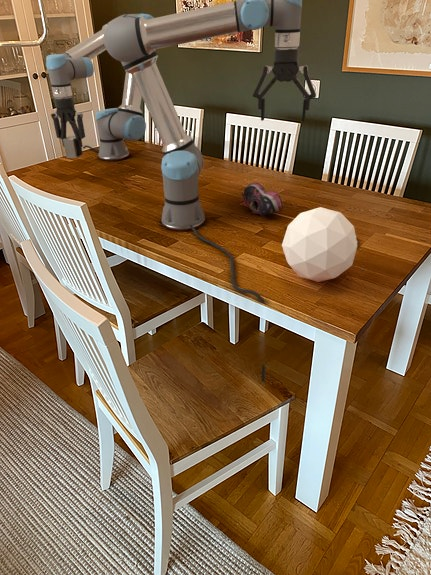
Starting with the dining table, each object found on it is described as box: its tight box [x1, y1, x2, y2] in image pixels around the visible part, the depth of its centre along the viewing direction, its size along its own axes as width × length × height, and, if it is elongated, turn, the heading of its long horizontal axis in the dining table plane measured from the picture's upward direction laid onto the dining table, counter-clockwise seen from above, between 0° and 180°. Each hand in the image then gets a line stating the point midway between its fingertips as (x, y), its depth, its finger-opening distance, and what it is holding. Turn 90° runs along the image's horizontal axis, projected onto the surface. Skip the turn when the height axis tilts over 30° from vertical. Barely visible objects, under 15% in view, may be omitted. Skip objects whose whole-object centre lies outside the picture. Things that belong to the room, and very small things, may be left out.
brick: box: [62, 135, 84, 159], centre depth 191 cm, size 6×5×8 cm
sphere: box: [281, 206, 358, 283], centre depth 118 cm, size 19×20×20 cm
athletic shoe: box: [238, 182, 284, 217], centre depth 160 cm, size 11×22×12 cm
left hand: (74, 154), depth 193 cm, fingers closed on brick, 5 cm apart
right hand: (282, 120), depth 148 cm, fingers open, 13 cm apart
